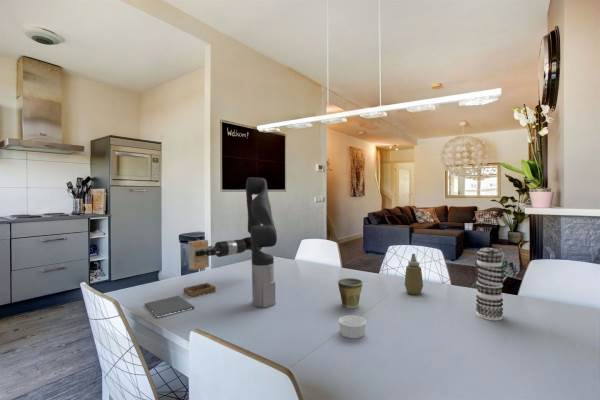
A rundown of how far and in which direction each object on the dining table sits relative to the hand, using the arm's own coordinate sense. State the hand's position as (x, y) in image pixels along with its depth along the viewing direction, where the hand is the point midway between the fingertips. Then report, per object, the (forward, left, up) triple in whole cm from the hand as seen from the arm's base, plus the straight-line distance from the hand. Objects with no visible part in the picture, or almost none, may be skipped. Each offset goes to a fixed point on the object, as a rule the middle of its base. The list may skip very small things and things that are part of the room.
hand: (193, 253), depth 143 cm
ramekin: (-76, -23, -20) cm, 82 cm away
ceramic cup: (-59, -43, -19) cm, 75 cm away
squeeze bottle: (-70, -75, -19) cm, 104 cm away
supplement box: (0, -3, -8) cm, 8 cm away
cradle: (0, -3, -19) cm, 19 cm away
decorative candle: (-102, -71, -19) cm, 125 cm away
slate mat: (-9, +14, -19) cm, 26 cm away
